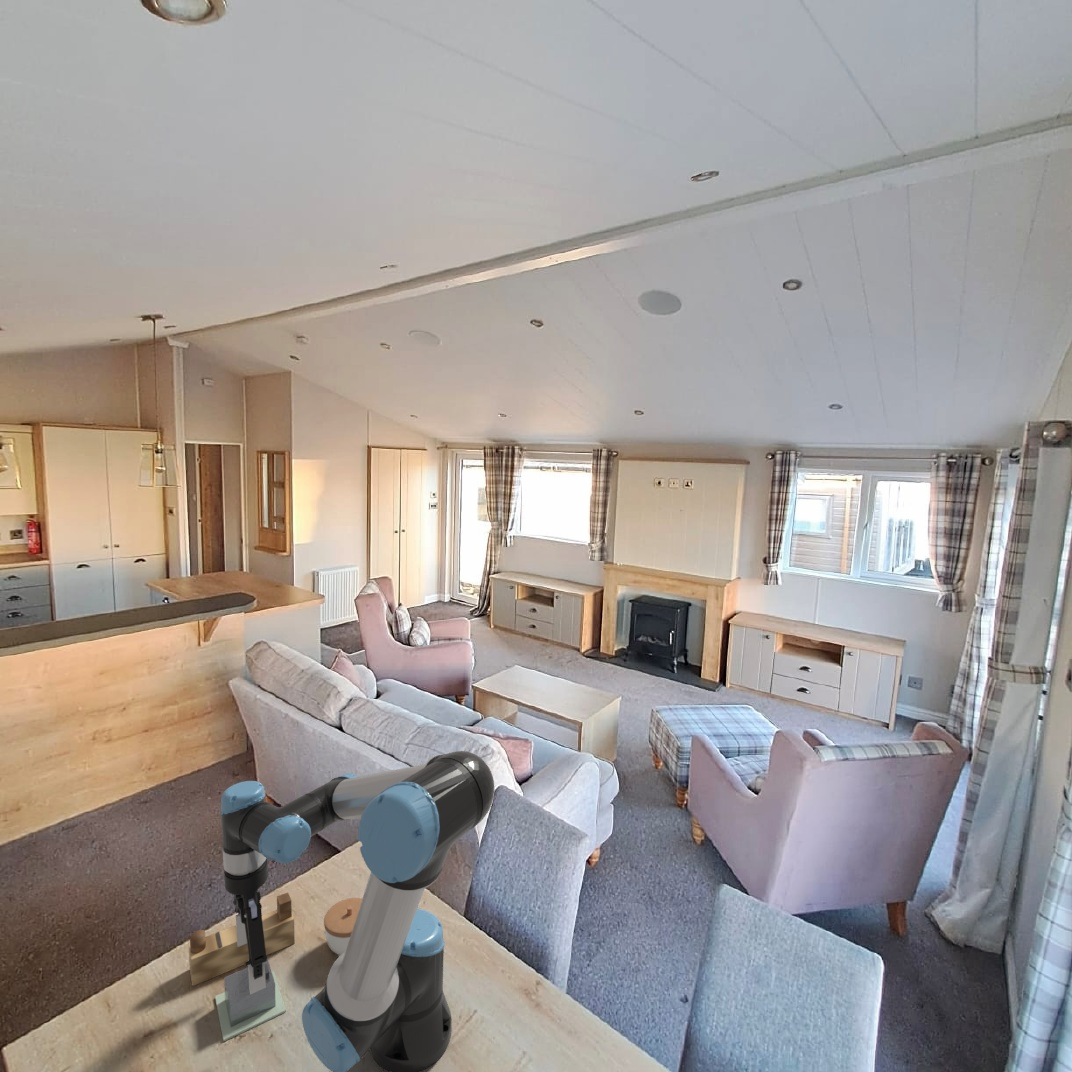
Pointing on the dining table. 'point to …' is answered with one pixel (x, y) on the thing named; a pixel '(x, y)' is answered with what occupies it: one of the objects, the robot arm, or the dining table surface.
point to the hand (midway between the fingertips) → (250, 965)
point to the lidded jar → (341, 923)
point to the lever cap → (247, 996)
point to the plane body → (222, 948)
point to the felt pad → (252, 1022)
